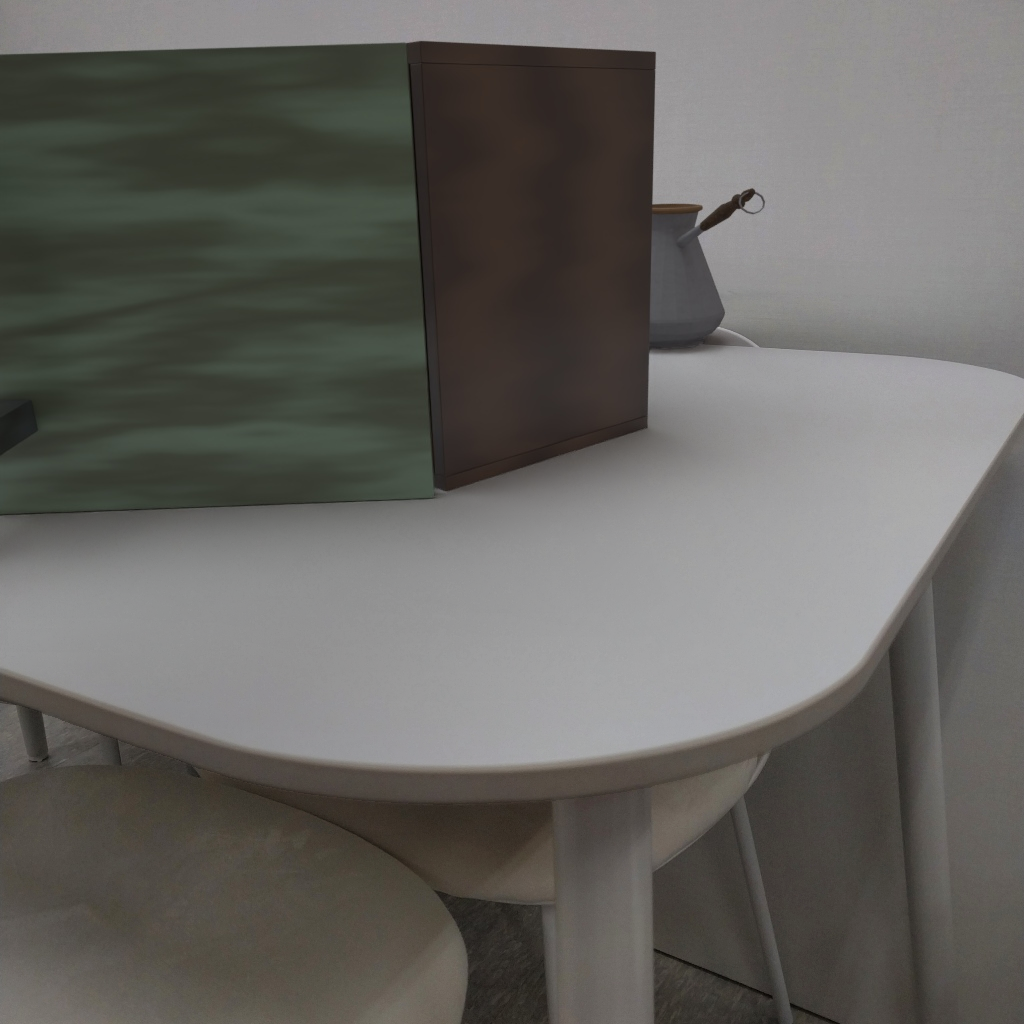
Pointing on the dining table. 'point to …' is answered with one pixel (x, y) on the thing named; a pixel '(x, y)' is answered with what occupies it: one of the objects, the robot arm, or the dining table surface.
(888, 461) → the dining table surface
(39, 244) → the cabinet door
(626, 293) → the cabinet
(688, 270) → the coffee pot
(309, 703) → the dining table surface
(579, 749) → the dining table surface
